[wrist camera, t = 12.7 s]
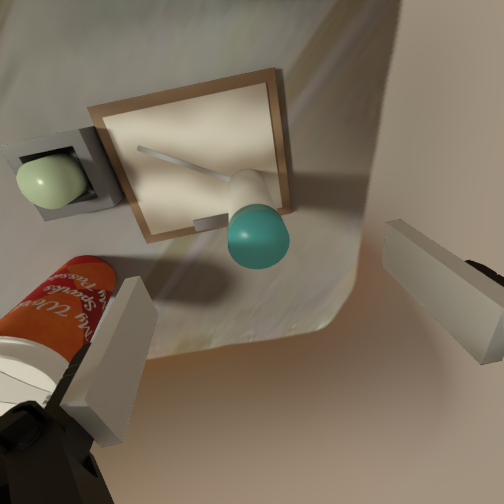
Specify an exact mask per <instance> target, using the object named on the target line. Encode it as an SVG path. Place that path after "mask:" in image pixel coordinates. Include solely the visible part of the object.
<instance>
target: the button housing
mask: <svg viewBox="0 0 504 504" xmlns="http://www.w3.org/2000/svg"><path fill="white" fill-rule="evenodd" d="M68 146H73V148H74V150H75V152H76V154H77V156H78V158H79V160H80V162H81V164H82V166H83V168H84V170H85V172H86V174H87V176H88V178H89V180H90V182H91V184H92V186H93V188H94V190H95V193H90V194H86V195H81V196H79V197H77V198H76V199H74V200H73V201H71V202H70V203H68V204H67V205H65V206H63V207H61V208H58V209H46V208H42V207H40V206H37V205H36V204H34V205H35V206H36V208H37V210H38V211H39V213H40V214H41V216H42V217H43V219H44V221H50V220H54V219H59V218H64V217H68V216H73V215H78V214H82V213H87V212H92V211H96V210H101V209H106V208H111V207H115V206H116V205H117V204H118V203H119V202H120V201H121V200H122V199H123V198H124V194H123V192H122V190H121V188H120V185H119V183H118V181H117V179H116V176H115V174H114V172H113V170H112V167H111V165H110V163H109V161H108V158H107V156H106V154H105V152H104V149H103V147H102V145H101V143H100V140H99V138H98V136H97V134H96V131H95V129H94V127H93V126H92V127H87V128H82V129H77V130H72V131H68V132H63V133H58V134H54V135H49V136H44V137H40V138H35V139H30V140H26V141H21V142H16V143H12V144H7V145H2V146H0V151H1V153H2V154H3V156H4V157H5V159H6V161H7V162H8V164H9V165H10V167H11V168H12V170H13V172H14V173H15V175H16V176H17V172H18V170H19V168H20V167H21V166H22V165H23V164H25V163H27V162H31V161H34V160H37V159H40V158H42V156H41V154H40V152H45V151H49V150H54V149H59V148H63V147H68Z"/></svg>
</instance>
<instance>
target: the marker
mask: <svg viewBox="0 0 504 504" xmlns="http://www.w3.org/2000/svg"><path fill="white" fill-rule="evenodd" d="M228 211H229V224H228V249H229V252H230V255H231V256H232V258H233V259H234V260H235V261H236V262H237V263H238V264H240V265H241V266H244V267H246V268H250V269H264V268H268V267H270V266H273V265H274V264H276V263H278V262H279V261H280V260H281V259H282V258H283V257H284V255H285V254H286V252H287V250H288V247H289V234H288V231H287V229H286V227H285V224H284V222H283V220H282V218H281V216H280V214H279V213H278V212H277V209H276V207H275V205H274V202H273V200H272V198H271V195H270V193H269V191H268V188H267V186H266V184H265V182H264V179H263V178H262V176H261V175H260V174H259V173H258V172H256V171H254V170H250V169H244V170H240V171H238V172H236V173H235V174H234V175H233V176H232V177H231V179H230V180H229V183H228Z"/></svg>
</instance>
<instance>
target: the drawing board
mask: <svg viewBox="0 0 504 504" xmlns="http://www.w3.org/2000/svg"><path fill="white" fill-rule="evenodd" d="M87 109H88V111H89V113H90V116H91V118H92V120H93V123H94V125H95V127H96V129H97V132H98V134H99V136H100V138H101V141H102V143H103V145H104V148H105V150H106V152H107V154H108V157H109V159H110V161H111V163H112V166H113V168H114V170H115V172H116V175H117V177H118V179H119V182H120V184H121V186H122V188H123V191H124V193H125V195H126V197H127V200H128V202H129V204H130V207H131V209H132V211H133V213H134V216H135V218H136V220H137V222H138V225H139V227H140V229H141V232H142V234H143V236H144V238H145V241H146V243H147V244H148V243H153V242H157V241H162V240H167V239H172V238H176V237H181V236H186V235H190V234H195V233H200V232H205V231H209V230H214V229H219V228H223V227H228V224H229V211H228V183H229V180H230V179H231V177H232V176H233V175H234V174H235V173H236V172H238V171H240V170H244V169H250V170H254V171H256V172H258V173H259V174H260V175H261V176H262V178H263V179H264V182H265V184H266V186H267V188H268V191H269V193H270V195H271V198H272V200H273V202H274V205H275V207H276V209H277V212H278V213H279V214H280V215H285V214H289V213H292V212H291V203H290V195H289V186H288V178H287V169H286V161H285V152H284V143H283V135H282V126H281V118H280V109H279V101H278V92H277V84H276V75H275V67H273V68H268V69H263V70H259V71H254V72H249V73H245V74H240V75H235V76H231V77H226V78H222V79H217V80H212V81H208V82H203V83H198V84H194V85H189V86H184V87H180V88H175V89H171V90H166V91H161V92H157V93H152V94H147V95H143V96H138V97H133V98H129V99H124V100H120V101H115V102H110V103H106V104H101V105H96V106H92V107H87Z"/></svg>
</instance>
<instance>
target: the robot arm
mask: <svg viewBox="0 0 504 504" xmlns="http://www.w3.org/2000/svg"><path fill="white" fill-rule="evenodd" d="M382 265H383V267H384V268H385V269H386V270H387V271H388V272H389V273H390V274H391V275H392V276H393V277H394V278H395V279H396V280H397V281H398V282H399V283H400V284H401V285H402V286H403V287H404V288H405V289H406V290H407V291H408V292H409V293H410V294H411V295H412V296H413V297H414V298H415V299H416V300H417V301H418V302H419V303H420V304H421V305H422V306H423V307H424V308H425V309H426V310H427V311H428V312H429V313H430V314H431V315H432V316H433V317H434V318H435V319H436V320H437V321H438V322H439V323H440V324H441V325H442V327H444V329H445V330H447V332H449V334H450V335H451V336H452V337H453V338H454V339H455V340H456V341H457V342H458V343H459V344H460V345H461V346H462V347H463V348H464V349H465V350H466V351H467V352H468V353H469V354H470V355H471V356H472V357H473V358H474V359H475V360H476V361H477V362H478V363H479V364H480V365H484V364H489V363H493V362H498V361H502V358H503V357H504V277H502V276H501V275H499V274H498V275H497V273H496V272H495V271H493V270H491V269H490V268H488V267H486V266H485V265H482V264H480V263H477V262H474V261H471V260H466V261H463V260H461V259H460V258H458V257H457V256H455V255H454V254H452V253H451V252H449V251H448V250H446V249H445V248H443V247H441V246H440V245H439V244H437V243H436V242H434V241H432V240H431V239H429V238H428V237H426V236H425V235H423V234H422V233H420V232H419V231H417V230H416V229H414V228H413V227H411V226H410V225H408V224H407V223H405V222H404V221H402V220H401V219H399V220H395V221H390V222H386V227H385V239H384V251H383V264H382ZM158 315H159V314H158V312H157V310H156V308H155V305H154V303H153V301H152V299H151V297H150V295H149V293H148V291H147V289H146V287H145V285H144V283H143V281H142V279H141V277H140V276H135V277H131V278H126V279H125V280H124V282H123V284H122V286H121V288H120V290H119V292H118V294H117V295H116V297H115V299H114V301H113V303H112V305H111V307H110V309H109V311H108V313H107V315H106V317H105V318H104V320H103V322H102V324H101V326H100V328H99V330H98V332H97V334H96V336H95V338H94V340H93V342H91V343H87V344H84V345H83V346H82V347H81V348H80V349H79V351H78V352H77V353H76V354H75V355H74V356H73V358H72V360H71V362H70V363H69V365H68V369H66V371H65V372H64V374H63V376H62V377H63V378H62V379H60V381H59V383H58V385H57V386H56V388H55V390H54V392H53V394H52V395H51V397H50V399H49V401H48V402H47V404H46V406H45V408H43V407H42V406H41V405H39V404H38V403H37V402H36V401H33V400H28V401H25V402H21V403H19V404H17V405H16V406H14V407H12V408H10V409H9V410H8V411H7V412H6V413H4V414H3V415H2V416H1V417H0V504H114V502H113V500H112V497H111V495H110V493H109V491H108V488H107V486H106V484H105V481H104V479H103V476H102V474H101V472H100V470H99V467H98V465H97V463H96V460H95V458H94V456H93V455H92V454H91V453H90V452H89V451H90V449H91V446H92V443H93V440H95V441H96V442H97V443H98V444H99V445H100V446H101V447H107V446H111V445H116V444H120V443H123V440H124V436H125V433H126V429H127V426H128V422H129V418H130V415H131V411H132V408H133V404H134V400H135V397H136V393H137V390H138V386H139V382H140V379H141V375H142V372H143V368H144V365H145V361H146V358H147V354H148V350H149V347H150V343H151V340H152V336H153V332H154V329H155V325H156V322H157V318H158Z"/></svg>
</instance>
